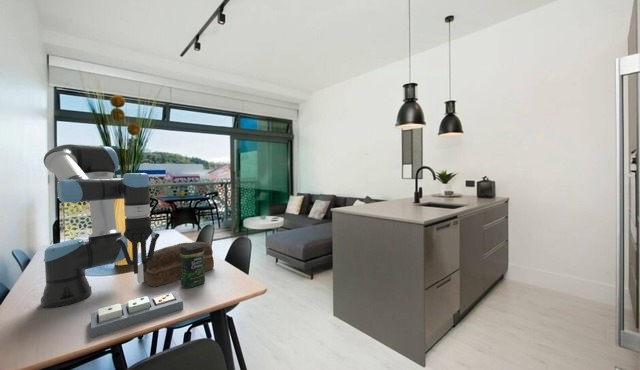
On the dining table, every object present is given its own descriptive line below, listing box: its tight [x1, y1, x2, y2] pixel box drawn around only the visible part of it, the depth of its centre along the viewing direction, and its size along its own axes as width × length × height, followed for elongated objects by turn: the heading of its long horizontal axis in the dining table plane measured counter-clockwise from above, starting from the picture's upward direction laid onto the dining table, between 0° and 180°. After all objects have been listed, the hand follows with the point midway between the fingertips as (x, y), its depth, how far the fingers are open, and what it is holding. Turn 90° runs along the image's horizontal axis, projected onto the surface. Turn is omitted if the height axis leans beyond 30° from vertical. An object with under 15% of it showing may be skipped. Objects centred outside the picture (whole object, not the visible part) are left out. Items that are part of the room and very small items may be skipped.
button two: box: [126, 295, 150, 314], centre depth 95 cm, size 6×6×3 cm
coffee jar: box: [180, 243, 206, 289], centre depth 121 cm, size 10×8×19 cm
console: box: [90, 290, 184, 338], centre depth 95 cm, size 26×12×3 cm, turn 131°
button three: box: [153, 293, 175, 306], centre depth 101 cm, size 6×6×3 cm
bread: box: [143, 241, 215, 288], centre depth 134 cm, size 15×32×16 cm, turn 142°
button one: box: [97, 303, 122, 322], centre depth 90 cm, size 6×6×3 cm
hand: (140, 281), depth 96 cm, fingers closed
